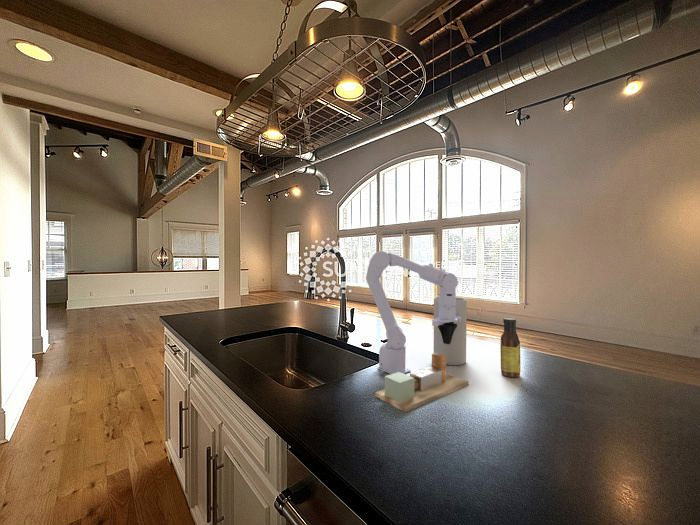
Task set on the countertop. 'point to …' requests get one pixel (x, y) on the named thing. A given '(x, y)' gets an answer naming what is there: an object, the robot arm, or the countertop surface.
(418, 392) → the base board
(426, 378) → the metal sleeve
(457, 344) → the cylinder vase
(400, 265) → the robot arm
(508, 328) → the sauce bottle
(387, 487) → the countertop surface
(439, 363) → the brown piece
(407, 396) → the pale green block
